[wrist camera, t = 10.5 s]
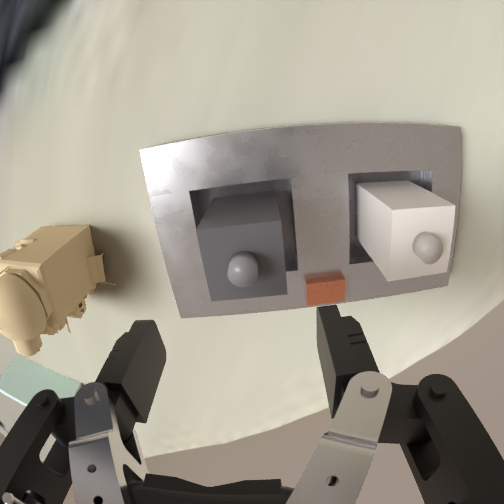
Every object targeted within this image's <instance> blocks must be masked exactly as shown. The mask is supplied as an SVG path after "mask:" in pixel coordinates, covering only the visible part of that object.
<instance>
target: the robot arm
mask: <svg viewBox="0 0 504 504" xmlns="http://www.w3.org/2000/svg"><path fill="white" fill-rule="evenodd" d="M317 347H318V354H319V358H320V363H321V368H322V373H323V377H324V382H325V387H326V392H327V397H328V402H329V408H330V413H331V418H334V419H333V421H332V424H331V426H330V428H329V430H328V432H327V433H325V434H324V435H323V436H322V438H321V439H320V441H319V443H318V445H317V447H316V450H315V451H314V453H313V455H312V457H311V459H310V461H309V463H308V465H307V467H306V469H305V471H304V472H303V474H302V476H301V478H300V480H299V482H298V483H297V485H296V487H295V489H294V488H290V487H284V486H282V485H281V480H280V479H271V480H244V481H240V482H235V483H230V484H225V485H220V486H214V487H205V486H202V485H199V484H195V483H192V482H189V481H186V480H183V479H180V478H177V477H170V476H162V475H154V474H150V473H149V471H148V469H147V467H146V464H145V460H144V457H143V454H142V450H141V447H140V444H139V440H138V436H137V433H136V431H135V429H134V425H135V422H140V423H146V422H147V419H148V415H149V412H150V409H151V406H152V402H153V399H154V396H155V393H156V390H157V387H158V384H159V381H160V377H161V374H162V371H163V368H164V365H165V362H166V350H165V346H164V344H163V341H162V339H161V336H160V333H159V331H158V328H157V325H156V323H155V321H154V320H136V321H135V322H134V323H133V325H132V327H131V329H130V331H129V332H125V333H124V334H123V335H122V336H121V337H120V338H119V339H118V340H117V341H116V343H115V345H114V347H113V349H112V351H111V352H110V354H109V358H107V360H106V362H105V364H104V366H103V367H102V369H101V371H100V373H99V375H98V377H97V379H96V381H95V382H92V383H88V384H86V385H84V386H82V387H81V388H80V389H79V390H78V391H77V393H76V395H75V396H74V397H67V398H59V397H58V395H57V394H56V393H55V391H53V390H50V389H45V390H42V391H40V392H38V393H37V394H35V395H34V397H33V398H32V399H31V401H30V402H29V404H28V405H27V406H26V408H25V409H24V411H23V412H22V414H21V415H20V417H19V418H18V420H17V421H16V423H15V424H14V426H13V427H12V429H11V430H10V432H9V433H8V435H7V437H6V438H5V440H4V442H3V443H2V445H1V446H0V504H63V501H64V499H65V497H66V495H67V493H68V491H69V488H70V486H71V484H73V490H74V497H75V502H76V504H355V502H356V500H357V498H358V495H359V493H360V491H361V488H362V486H363V483H364V481H365V478H366V475H367V473H368V470H369V467H370V465H371V462H372V459H373V456H374V453H375V450H376V447H377V443H395V444H400V445H401V448H402V450H403V452H404V454H405V457H406V459H407V462H408V464H409V466H410V468H411V471H412V473H413V476H414V478H415V480H416V483H417V485H418V487H419V490H420V492H421V495H422V497H423V500H424V502H425V504H504V460H503V458H502V456H501V455H500V453H499V451H498V450H497V448H496V446H495V444H494V443H493V441H492V439H491V438H490V436H489V434H488V433H487V431H486V430H485V428H484V426H483V425H482V423H481V421H480V420H479V418H478V417H477V415H476V414H475V412H474V411H473V409H472V408H471V406H470V405H469V403H468V401H467V400H466V398H465V397H464V395H463V394H462V393H461V391H460V390H459V388H458V387H457V385H456V384H455V383H454V381H453V380H452V379H451V378H449V377H447V376H445V375H440V374H432V375H429V376H426V377H425V378H423V379H422V380H421V381H420V383H419V385H400V384H395V383H392V382H390V380H389V379H388V378H387V377H386V376H385V375H383V374H381V373H380V372H379V370H378V367H377V365H376V362H375V360H374V357H373V355H372V352H371V350H370V347H369V345H368V343H367V340H366V338H365V335H364V333H363V330H362V328H361V326H360V323H359V322H357V321H356V320H355V319H354V318H353V317H352V316H346V317H341V316H340V313H339V310H338V308H337V305H329V306H321V307H317ZM50 434H52V435H53V436H54V437H55V438H56V441H55V443H54V445H53V446H52V448H51V450H50V452H49V454H48V455H47V457H46V459H45V461H44V463H42V462H41V461H40V458H39V454H40V451H41V449H42V447H43V446H44V444H45V442H46V440H47V439H48V437H49V435H50Z"/></svg>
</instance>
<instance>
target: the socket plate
mask: <svg viewBox="0 0 504 504" xmlns="http://www.w3.org/2000/svg"><path fill="white" fill-rule="evenodd" d="M140 153H141V159H142V164H143V169H144V174H145V179H146V184H147V189H148V194H149V198H150V203H151V207H152V212H153V216H154V220H155V224H156V229H157V233H158V237H159V241H160V245H161V249H162V252H163V256H164V260H165V264H166V268H167V271H168V275H169V278H170V282H171V286H172V289H173V293H174V296H175V299H176V303H177V306H178V309H179V313H180V316H181V318H193V317H208V316H222V315H235V314H247V313H258V312H269V311H278V310H288V309H297V308H306V307H314V306H322V305H330V304H338V303H345V302H353V301H360V300H366V299H373V298H380V297H386V296H392V295H398V294H404V293H410V292H416V291H421V290H427V289H432V288H438V287H443V286H448V282H449V277H450V271H451V266H452V260H453V254H454V247H455V240H456V232H457V224H458V214H459V202H460V187H461V127H457V126H449V125H440V124H424V123H400V122H348V123H323V124H307V125H293V126H282V127H272V128H262V129H254V130H245V131H238V132H231V133H224V134H217V135H211V136H205V137H199V138H193V139H188V140H183V141H177V142H172V143H167V144H163V145H158V146H153V147H149V148H146V149H143V150H140ZM387 181H410V182H412V183H414V184H416V185H418V186H420V187H422V188H424V189H426V190H428V191H430V192H432V193H434V194H435V195H437V196H439V197H441V198H443V199H445V200H447V201H448V202H450V203H452V204H454V205H455V217H454V227H453V235H452V243H451V250H450V256H449V263H448V269H447V272H444V273H438V274H433V275H427V276H420V277H414V278H408V279H401V280H395V281H387V280H386V278H385V277H384V275H383V274H382V272H381V271H380V270H379V268H378V267H377V265H376V264H375V263H374V261H373V260H372V258H371V257H370V256H369V254H368V253H367V252H366V250H365V249H364V248H363V246H362V245H361V243H360V242H359V241H358V239H357V195H356V183H369V182H387ZM274 190H275V195H276V199H277V204H278V208H279V213H280V218H281V225H282V235H283V245H284V256H285V267H286V279H287V291H288V294H286V295H277V296H267V297H257V298H246V299H235V300H224V301H212V302H211V298H210V293H209V289H208V285H207V280H206V276H205V271H204V267H203V262H202V258H201V253H200V248H199V244H198V239H197V234H196V229H197V227H198V225H199V224H200V222H201V220H202V218H203V216H204V214H205V213H206V211H207V209H208V207H209V205H210V204H211V202H212V200H213V198H217V197H224V196H232V195H240V194H248V193H257V192H265V191H274Z"/></svg>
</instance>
